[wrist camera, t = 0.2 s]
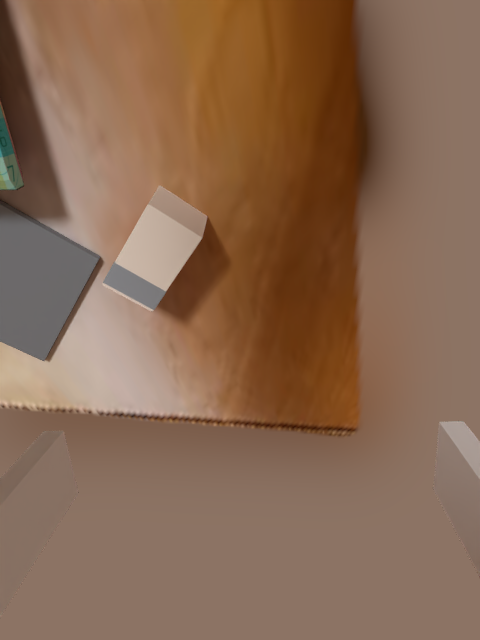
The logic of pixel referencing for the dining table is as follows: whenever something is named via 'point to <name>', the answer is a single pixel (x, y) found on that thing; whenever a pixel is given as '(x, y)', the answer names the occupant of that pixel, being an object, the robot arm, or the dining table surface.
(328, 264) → the dining table surface
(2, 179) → the puzzle game
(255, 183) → the dining table surface
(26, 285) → the mat
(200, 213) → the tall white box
